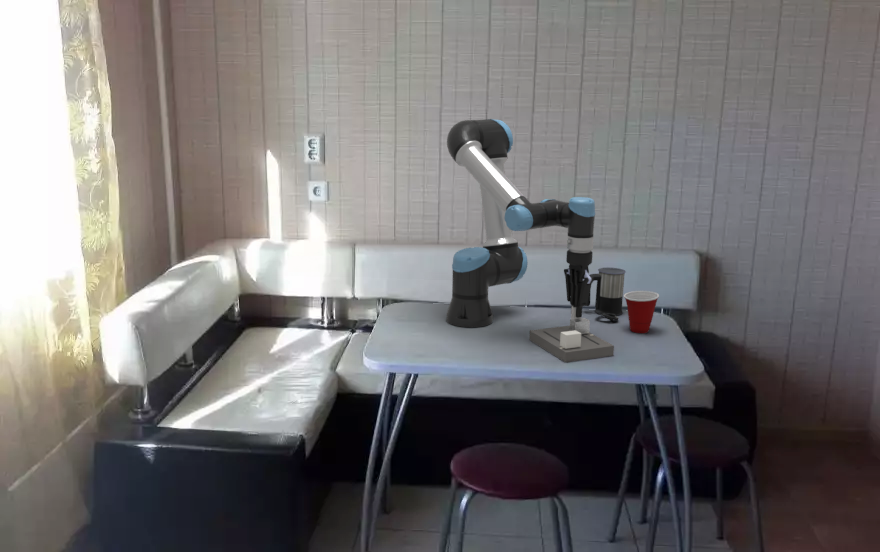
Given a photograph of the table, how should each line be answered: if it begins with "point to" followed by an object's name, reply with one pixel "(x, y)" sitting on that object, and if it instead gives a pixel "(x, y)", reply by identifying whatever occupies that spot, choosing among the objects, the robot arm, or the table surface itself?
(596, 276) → the milk frother
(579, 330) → the fader
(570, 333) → the fader
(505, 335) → the table surface
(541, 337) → the slider panel
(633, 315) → the plastic cup
